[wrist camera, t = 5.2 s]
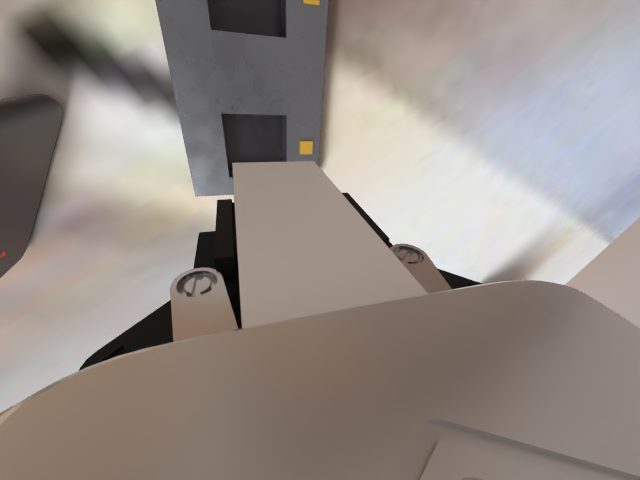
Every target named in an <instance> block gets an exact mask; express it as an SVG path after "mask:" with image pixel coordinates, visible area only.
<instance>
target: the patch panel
mask: <svg viewBox="0 0 640 480" xmlns="http://www.w3.org/2000/svg"><path fill="white" fill-rule="evenodd" d="M155 1H156V6H157V11H158V16H159V21H160V25H161V30H162V35H163V40H164V45H165V50H166V55H167V60H168V65H169V69H170V74H171V79H172V84H173V89H174V94H175V99H176V104H177V109H178V114H179V118H180V123H181V128H182V133H183V138H184V143H185V148H186V153H187V158H188V163H189V167H190V172H191V177H192V182H193V187H194V192H195V196H215V195H234V184H233V167H232V163H246V162H295V161H314V162H315V163H316V164H317V165H318V166H319V149H320V133H321V116H322V100H323V84H324V67H325V51H326V34H327V18H328V1H329V0H155Z"/></svg>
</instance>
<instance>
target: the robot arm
mask: <svg viewBox="0 0 640 480" xmlns="http://www.w3.org/2000/svg"><path fill="white" fill-rule="evenodd" d="M342 194H343V195H344V197H345V198H346V199H347V200H348V201H349V202H350V203H351V205H352V206H353V207H354V208H355V209H356V210H357V212H358V213H359V214H360V215H361V216H362V217H363V219H364V220H365V221H366V222H367V223H368V224H369V226H370V227H371V228H372V229H373V230H374V231H375V232H376V234H377V235H378V236H379V237H380V238H381V239H382V241H383V242H384V243H385V244H386V245H387V246H388V248H389V249H390V250H391V251H392V252H393V253H394V255H395V256H396V257H397V258H398V259H399V260H400V261H401V263H402V264H403V265H404V266H405V267H406V268H407V270H408V271H409V272H410V273H411V274H412V275H413V277H414V278H415V279H416V280H417V281H418V282H419V284H420V285H421V286H422V287H423V288H424V289H425V290H426V292H427V293H428V294H424V295H418V296H413V297H407V298H401V299H396V300H390V301H385V302H379V303H374V304H368V305H363V306H358V307H352V308H347V309H341V310H336V311H331V312H325V313H320V314H314V315H309V316H304V317H299V318H293V319H288V320H283V321H278V322H272V323H267V324H262V325H257V326H251V327H246V328H242V321H241V304H240V287H239V270H238V253H237V236H236V219H235V203H232V199H227V200H217V215H216V231H212V232H200V233H199V237H198V243H197V250H196V256H195V263H194V269H192V270H189V271H186V272H184V273H182V274H180V275H179V276H178V277H177V278H175V279H174V281H173V282H172V284H171V288H170V296H171V300H170V301H169V302H167V303H166V304H164V305H163V306H161V307H160V308H158V309H157V310H156V311H154V312H153V313H151V314H150V315H148V316H147V317H145V318H144V319H143V320H141V321H140V322H138V323H137V324H135V325H134V326H132V327H131V328H130V329H128V330H127V331H125V332H124V333H122V334H121V335H119V336H118V337H117V338H115V339H114V340H112V341H111V342H109V343H108V344H106V345H105V346H104V347H102V348H101V349H99V350H98V351H96V352H95V353H94V354H93V355H92V356H90V357H89V358H88V359H87V360H86V361H85V363H84V364H83V365H82V366H81V367H80V370H79V371H78V372H76V373H73V374H71V375H69V376H67V377H65V378H62V379H60V380H58V381H56V382H54V383H52V384H50V385H48V386H47V387H45V388H43V389H41V390H39V391H37V392H36V393H34V394H32V395H31V396H29V397H27V398H26V399H24V400H23V401H21V402H19V403H18V404H16V405H14V406H12V407H10V408H9V409H7V410H5V411H3V412H2V413H0V480H640V328H639V327H637V326H636V325H634V324H633V323H631V322H630V321H628V320H627V319H625V318H623V317H622V316H620V315H619V314H617V313H615V312H614V311H612V310H611V309H609V308H608V307H606V306H604V305H603V304H601V303H600V302H598V301H596V300H595V299H593V298H591V297H590V296H588V295H586V294H584V293H583V292H581V291H579V290H576V289H574V288H571V287H568V286H565V285H561V284H556V283H551V282H544V281H535V280H514V281H502V282H494V283H487V284H482V283H479V282H475V281H472V280H469V279H467V278H464V277H461V276H458V275H455V274H452V273H449V272H446V271H443V270H440V269H437V268H436V267H435V265H434V264H433V262H432V261H431V260H430V258H429V257H428V256H427V254H426V253H425V252H424V251H422V250H421V249H419V248H417V247H415V246H412V245H408V244H396V245H392V244H391V243H390V242H389V238H388V237H387V236H386V234H385V233H384V232H383V231H382V230H381V229H380V228H379V227H378V226H377V225H376V223H375V222H374V221H373V220H372V219H371V218H370V217H369V216H368V215H367V214H366V213H365V211H364V210H363V209H362V208H361V207H360V206H359V205H358V204H357V203H356V202H355V200H354V199H353V198H352V197H351V196H350V195H349V194H348V193H342Z"/></svg>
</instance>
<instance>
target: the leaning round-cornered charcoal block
mask: <svg viewBox="0 0 640 480" xmlns="http://www.w3.org/2000/svg"><path fill="white" fill-rule="evenodd" d="M61 118H62V113H61V108H60V106H59V104H58V103H57V102H56V101H55V100H54V99H53V98H51V97H49V96H47V95H44V94H34V95H27V96H21V97H14V98H7V99H1V100H0V278H1V277H2V276H3V275H4V274H5V273H6V272H7V271H8V270H9V269H10V268H11V267H13V266H14V265H15V264H16V263H17V262H18V261H19V260H20V259H21V258H22V256H23V255H24V253H25V251H26V249H27V246H28V243H29V239H30V235H31V232H32V228H33V224H34V220H35V217H36V213H37V209H38V206H39V202H40V198H41V195H42V191H43V187H44V183H45V180H46V176H47V172H48V169H49V165H50V161H51V157H52V154H53V150H54V146H55V143H56V139H57V135H58V131H59V128H60V124H61Z"/></svg>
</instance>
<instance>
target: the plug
mask: <svg viewBox="0 0 640 480" xmlns="http://www.w3.org/2000/svg"><path fill="white" fill-rule="evenodd" d="M232 167H233V184H234V202H235V219H236V236H237V253H238V270H239V287H240V304H241V321H242V328H246V327H251V326H257V325H262V324H267V323H272V322H278V321H283V320H288V319H293V318H299V317H304V316H309V315H314V314H320V313H325V312H331V311H336V310H341V309H347V308H352V307H358V306H363V305H368V304H374V303H379V302H385V301H390V300H396V299H401V298H407V297H413V296H418V295H424V294H428V293H427V292H426V290H425V289H424V288H423V287H422V286H421V285H420V284H419V282H418V281H417V280H416V279H415V278H414V277H413V275H412V274H411V273H410V272H409V271H408V270H407V268H406V267H405V266H404V265H403V264H402V263H401V261H400V260H399V259H398V258H397V257H396V256H395V255H394V253H393V252H392V251H391V250H390V249H389V248H388V246H387V245H386V244H385V243H384V242H383V241H382V239H381V238H380V237H379V236H378V235H377V234H376V232H375V231H374V230H373V229H372V228H371V227H370V226H369V224H368V223H367V222H366V221H365V220H364V219H363V217H362V216H361V215H360V214H359V213H358V212H357V210H356V209H355V208H354V207H353V206H352V205H351V203H350V202H349V201H348V200H347V199H346V198H345V197H344V195H343V194H342V193H341V192H340V191H339V190H338V188H337V187H336V186H335V185H334V184H333V183H332V181H331V180H330V179H329V178H328V177H327V176H326V174H325V173H324V172H323V171H322V170H321V169H320V168H319V166H318V165H317V164H316V163H315V162H314V161H295V162H246V163H232Z"/></svg>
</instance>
